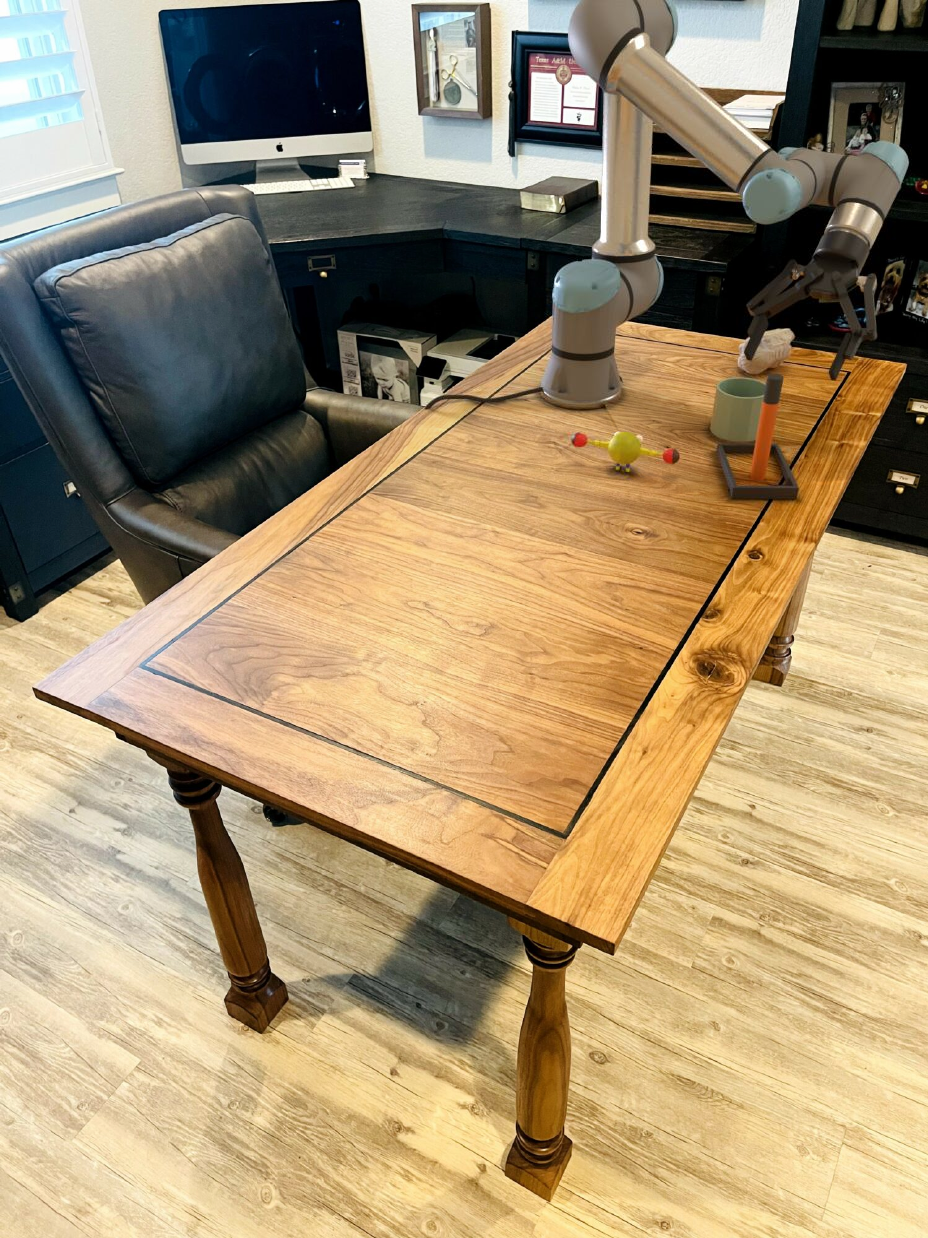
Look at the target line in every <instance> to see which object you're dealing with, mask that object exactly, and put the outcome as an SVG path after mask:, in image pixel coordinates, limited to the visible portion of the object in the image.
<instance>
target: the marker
mask: <svg viewBox="0 0 928 1238" xmlns="http://www.w3.org/2000/svg"><path fill="white" fill-rule="evenodd" d="M784 378H785V377H784V376H783V375H782V374H780V373H769V374H767V376H766V380H765V383H766V385H765V391H764V397H763V402H762V408H761V414H760V420H759V425H758V431H757V437H756V440H755V443H754V444H755V448H754V453H752V460H751V466H750V471H749V479H751V480H752V481H755V482H762V481H764V480H765V479H766V475H767V470H768V464H769V459H770V454H771V453H770V449H771V444H773V443H772V442H773V438H774V433H775V427H776V422H777V416H778V412H779V411H778V410H779V404H780V399H781V395H782V390H783V383H784Z"/></svg>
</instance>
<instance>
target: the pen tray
mask: <svg viewBox="0 0 928 1238" xmlns="http://www.w3.org/2000/svg"><path fill="white" fill-rule="evenodd" d="M754 448H755V443H717V445H716V454H717V457H718V461H719V463H720V465H721V468H722V472H723V474H724V477H725V480H726V483H727V486H728V489H727V490H728V493H729V496H730V498H731V499H732V500H798V494H799V490H800V488H799V485H798V483H797V481H796V479H795V477H794V475H793V473H792V471H791V468H790V466H789V464H788V463H787V459H786V458H785V456H784V454H783V451H782V450H781V447H780V445H779V443H771V449H770V454H773V456H774V458H775V460H776V463H777V465H778V467H779V469H780V472H781V474H782V476H783V478H784V480H785V483H786V484H774V485H737V481H736V479H735V476H734V474H733V471H732V468H731V466H730V463H729V460H728V457H727V455H726V454H754Z"/></svg>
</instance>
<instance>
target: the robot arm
mask: <svg viewBox="0 0 928 1238" xmlns="http://www.w3.org/2000/svg"><path fill="white" fill-rule="evenodd" d="M571 13H572V14H571V16H570V19H569V23H568V29H567V34H568V35H567V40H568V46H569V50H570V52H571V53H570V54H571V55H572V57H573V58H574V61H575V62H576V64H577V66H578V67H579V68H580V69H581V70H582V71H583V72H584V74H586V76H588V77H589V78H590V79H591V80H592V81H593V82H594V83H595V84H596V85H598V86H599V87H600V88H601V89H602V92H603V105H602V106H603V107H602V108H603V109H602V110H603V111H602V113H603V114H602V156H601V157H602V158H601V164H602V165H601V167H602V168H601V203H600V204H601V205H600V207H601V208H600V209H601V210H600V237H599V239H597V240H596V242H595V243H594V244H593V245H592V247H591V259H590V258H589V259H582V261H581V260H580V261H578V260H576V261H573V262H570V263H568V264H566V265H564V266H563V267H561V268H560V269H559V270H558V272H557V273H556V275H555V277H554V283H553V289H552V294H551V295H552V297H551V298H552V318H551V319H552V321H551V322H552V324H551V325H552V326H551V353H550V355H549V359H548V361H547V363H546V367H545V370H544V372H543V375H542V378H541V382H540V386H539V387H536V388H532V389H527V390H523V391H519V392H515V393H511V394H506V395H501V396H497V397H490V398H487V397H479V396H475V395H472V394H443V395H438V396H436V397H435V398H433V399H432V400H431V401H429V402H428V403H427V404H426V405H425V407H424V408H423V409H424V410H426V411H427V410H430V409H431V408H432V407H433V406H434V405H435V404H437V403H439V402H441V401H446V400H469V401H474V402H478V403H483V404H492V403H499V402H505V401H509V400H513V399H517V398H520V397H526V396H528V395H533V394H537V393H540V396H541V398H542V399H543V400H545V401H546V402H548V403H550V404H552V405H554V406H558V407H561V408H565V409H572V410H573V409H574V410H593V409H600V408H605V407H606V405H609V404H611V403H614V402H615V401H617V400H618V399H619V398H620V397H621V394H622V384H624V381H623V377H622V376H621V375H620V373H619V369H618V365H617V362H616V361H617V360H616V357H615V346H616V345H615V344H616V337H617V335H616V334H617V328H618V327H619V326H621V325H623V324H625V323H627V322H628V321H630V320H632V319H633V318H636V317H639V316H641V315H642V314H644V313H645V312H646V311H647V310H649V308H650V307H651V306H653V305H654V304H655V302H657V300H658V298H659V297H660V295H661V293H662V290H663V286H664V270H663V266H662V264H661V262H659V260H658V257H657V256H656V244H655V243H654V241H653V240H652V239H651V238H650V237H649V217H650V216H649V213H650V194H651V193H650V191H651V174H652V173H651V172H652V171H651V170H652V153H653V151H652V149H653V145H652V144H653V128H654V127H653V126H654V125H656V126H658V128H660V129H661V130H662V131H663V132H665V133H666V134H667V135H668V136H669V137H670V138H671V139H673V140H674V141H675V142H676V143H677V144H679V145H680V146H681V147H683V148H684V149H685V150H686V151H687V152H688V153H690V155H692V156H693V157H694V158H696V159H697V161H699V162H700V163H701V164H702V165H703V166H705V168H707V169H708V170H710V171H711V172H712V173H713V174H714V175H715V176H717V177H718V178H719V179H720V180H721V181H723V182H724V183H725V184H726V185H727V186H728V187H730V188H731V189H732V190H733V191H734V192H735V193H737V195H739V196H740V197H741V198H742V205H743V208H744V211H745V213H746V215H747V216H748V217H749V218H750V219H751V221H754V222H755V223H758V224H759V225H760V224H761V225H772V224H776V223H778V222H783V221H785V220H787V219H789V218H791V216H792V215H794V214H795V213H796V212H798V211H801V210H802V209H804V208H806V207H808V206H809V205H817V206H818V205H819V206H824V207H825V206H826V207H830V208H834V210H833V213H832V215H831V217H830V219H829V221H828V224H827V225H826V227H825V230H824V232H823V233H824V234H823V235H822V236H821V238H820V240H819V243H818V244H817V246H816V249H815V251H814V253H813V255H812V257H811V260H810V262H808V264H807V265H802V264H799V263H797V261H796V259H790V260H789V261H788V262H787V264H786V265H785V266H784V269H782V271H781V272H780V273H779V274H778V275H777V276H776V277H775V278H774V279H773V280H772V281H770V282H769V283H768V284H766V286H765V287H764V288H763V289H762V290H760V291H759V292H758V293H757V294H756V295H755V296H754V297H753V298H751V299H750V300H749V301H748V302H747V304H746V308H747V310H748V312H749V315H750V316H751V317H753V318H752V321H751V323H750V325H749V327H748V328H747V335H748V338H750V339H749V342H748V344H747V346H746V348H745V350H744V354H745V356H746V359H747V360H749V361H752V359H753V357H754V355H755V352H756V350H757V348H758V346H759V344H760V342H761V340H762V337H763V335H764V333H765V332H766V331H767V329H768V327H769V321H768V320H769V319H770V318H772V317H774V316H775V315H777V314H779V313H780V312H782V311H783V310H785V309H787V308H789V307H791V306H792V305H794V304H796V303H797V302H799V301H800V300H802V301H803V300H805V299H807V298H809V297H811V299H816V300H824V301H827V302H830V303H831V302H833V301H836V300H838V302H839V304H840V307H841V308H842V311H843V314H844V316H845V319H846V321H847V324H848V326H849V329H850V331H851V332H846V333H845V335H844V337H843V339H842V341H841V343H840V346H839V347H838V349H837V352H836V355H835V356H834V358H833V361H832V363H831V365H830V368H829V370H828V375H829V378H830V381H834V382H836V381H837V379H838V377H839V375H840V373H841V371H842V368H843V366H844V364H845V362H846V360H848V361H852V360H853V359H854V357H855V356H856V353H857V351H858V349H859V346H860V344H862V342H863V341H870V342H873V341H876V339H877V338H878V331H877V321H876V307H875V293H876V290H877V287H878V283H877V282H878V281H877V275H876V274H875V273H869V274H868V275H867V276H864V275H860V273H861V271H862V269H863V267H864V266H865V263H866V260H867V259H868V256H869V254H870V250H871V249H872V247H873V245H874V243H875V241H876V239H877V236H878V235H879V233H880V230H881V228H882V227H883V224H884V221H885V219H886V218H887V215H888V213H889V211H890V209H891V207H892V205H893V202H894V201H895V199H896V197H897V194H898V193H899V191H901V188H902V183H903V180H904V178H905V176H906V173H907V170H908V167H909V163H910V161H909V157H908V155H907V153H906V151H905V150H904V149H903V148H902V147H901V146H899V145H898V144H896V143H894V142H891V141H888V140H878V141H877V142H874V141H873V142H870V143H868V144H866V145H865V146H864V147H863V148H862V150H861V152H859V155H853V154H850V155H847V154H839V153H834V152H828V151H820V150H816V149H809V148H807V147H789V146H788V147H784V148H781V149H780V150H779V151H778V152H776V151H775V150H774V149H773V148H772V147H771V146H770V145H768V143H766V142H765V141H763V140H762V139H761V138H760V137H759V136H758V135H756V134H755V133H754V132H753V131H752V130H751V129H749V128H748V127H747V126H746V125H744V123H742V122H741V121H740V120H739V119H738V118H737V117H735V116H733V115H732V114H731V113H730V112H729V111H728V110H727V109H726V108H725V107H723V106H722V105H720V104H719V103H718V102H717V101H716V100H715V99H714V98H712V97H711V96H710V95H709V94H708V93H706V92H705V91H704V90H703V89H702V88H701V87H699V86H698V84H695V82H693V81H692V80H691V79H690V78H689V77H687V76H686V75H685V74H684V73H682V72H681V71H680V70H679V69H678V68H677V67H676V66H675V65H673V64H672V63H670V62H669V61H668V59H666V56H667V55H668V54H669V52H670V51H671V49H672V48H673V46H674V45H675V42H676V40H677V36H678V31H679V15H678V12H677V8H676V6H675V3H674V1H673V0H580V1H579V2H578V3H577V4H576V6H575V8H574V9H573V11H572V12H571ZM800 276H803V278H802V279H799V280H798V278H799V277H800ZM795 280H798V281H796V283H795V284H794V285H792V287H790V288H788V286H789V285H791V283H792V282H793V281H795ZM857 286H859V288H860V292H863V299H864V300H863V301H864V312H865V325H866V327H862V326H861V323H860V321H859V319H858V316H857V314H856V312H855V311H856V310H855V308H854V306H853V304H852V301H851V299H850V297H849V294H848V293H849V292H851V291H852V290H854V289H855V288H856V287H857ZM787 288H788V289H787ZM785 289H787V290H785ZM784 290H785V291H784ZM783 291H784V292H783Z"/></svg>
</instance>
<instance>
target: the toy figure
mask: <svg viewBox="0 0 928 1238" xmlns="http://www.w3.org/2000/svg"><path fill="white" fill-rule="evenodd" d="M570 441H571V444H572V446H574V447H575V448H584V447H586V445H587V444H591V445H592V446H593V447H595V448H600V449H604V450H606V451H607V452H608V455H609V457H610V458H611V460H612V461H613V462H615V463H616V465H615V466H616V467H615V469H614V471H615V472H621V470H622V469H623V468H622V467H623V466H625V471H624V473H626V474H630V472H631V464H633V463H634V462H635V461H637V460H638V458H639V457H642V456H646V457H650V458H655V457H662V460H663V462H665V463H666V464H668V465H675V464H677V463H678V462H679V461H680V457H681V456H680V452H679V451H678V450H677V449H675V448H673V449H672V448H670V449H669V448H668V449H666V450H664V451H663V453H662V452H657V451H656V450H654V449H649V448H645V447H644V446H642V444H641V443H642V442H643V441H644V437H643V436H642V435H641V434H638V435H636V434H635V433H632V432H629V431H616V432H615V433H614V435H613V436H612V438H611V439H610V440H608V441H607V440H606V441H602V440H598V439H595V440H589V439H588V437H587V435H586V434H585V433H581V432H576V433H574V434H573V435H572V436H571V439H570ZM621 465H623V466H621Z"/></svg>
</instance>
